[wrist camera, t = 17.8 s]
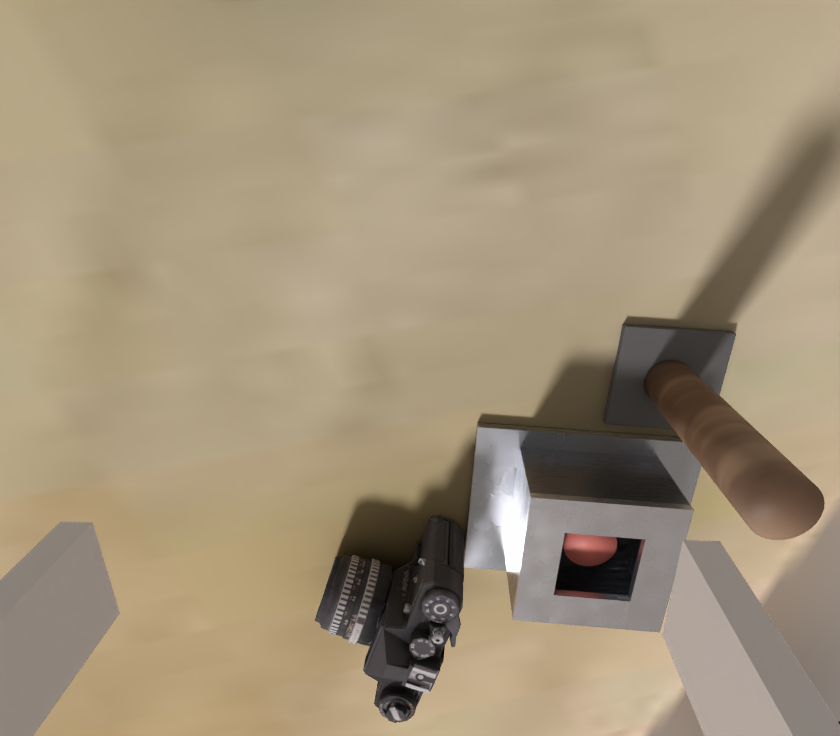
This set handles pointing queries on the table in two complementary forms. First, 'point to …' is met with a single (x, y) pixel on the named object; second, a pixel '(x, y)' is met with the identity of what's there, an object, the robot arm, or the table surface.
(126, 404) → the table surface
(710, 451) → the walnut dowel
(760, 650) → the robot arm
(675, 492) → the box
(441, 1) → the table surface
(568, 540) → the breaker button
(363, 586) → the camera
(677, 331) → the rubber mat
